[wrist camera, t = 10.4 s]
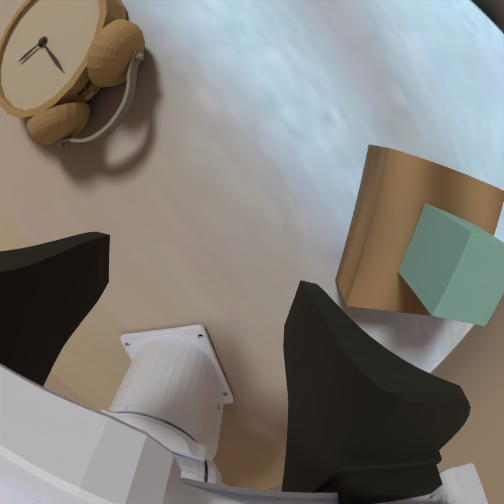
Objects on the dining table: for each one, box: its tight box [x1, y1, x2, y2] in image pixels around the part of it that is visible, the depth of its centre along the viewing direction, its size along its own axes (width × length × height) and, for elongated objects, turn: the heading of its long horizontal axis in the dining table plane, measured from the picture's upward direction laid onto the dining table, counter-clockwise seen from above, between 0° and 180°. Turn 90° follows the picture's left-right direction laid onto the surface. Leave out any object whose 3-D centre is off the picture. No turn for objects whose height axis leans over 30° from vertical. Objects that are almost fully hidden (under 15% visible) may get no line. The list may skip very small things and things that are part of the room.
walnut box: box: [335, 145, 504, 315], centre depth 19 cm, size 10×10×4 cm
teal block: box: [398, 203, 504, 326], centre depth 15 cm, size 5×5×5 cm
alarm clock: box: [0, 0, 145, 150], centre depth 15 cm, size 11×5×15 cm
